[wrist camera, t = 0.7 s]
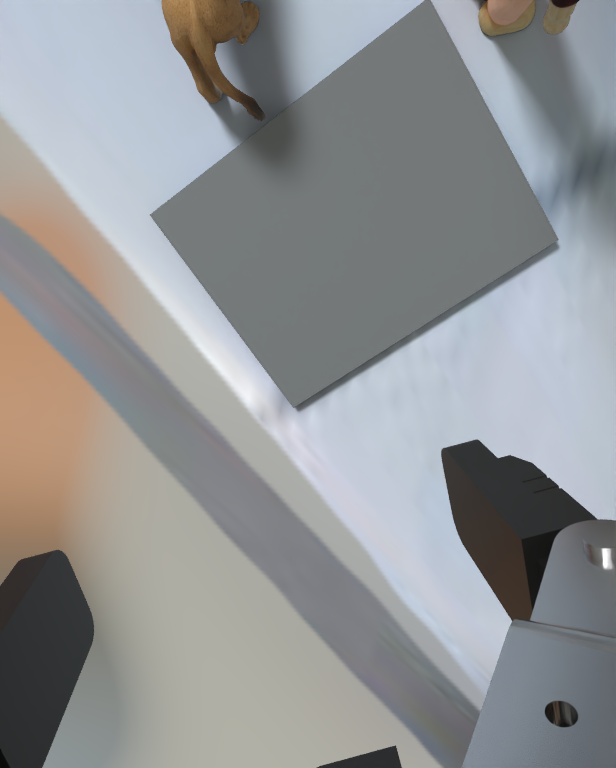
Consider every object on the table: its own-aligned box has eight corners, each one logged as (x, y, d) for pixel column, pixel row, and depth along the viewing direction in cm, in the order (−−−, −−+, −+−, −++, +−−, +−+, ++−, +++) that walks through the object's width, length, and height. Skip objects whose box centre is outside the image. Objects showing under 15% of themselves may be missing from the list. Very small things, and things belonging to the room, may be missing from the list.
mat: (152, 214, 32) (149, 214, 31) (427, 0, 28) (428, -3, 27) (293, 404, 35) (293, 407, 35) (555, 239, 31) (558, 239, 31)
